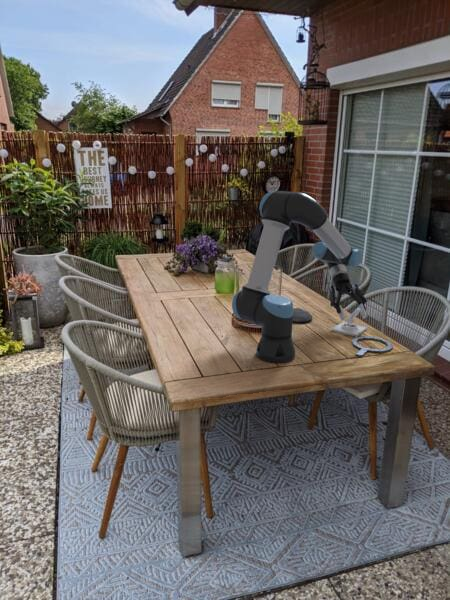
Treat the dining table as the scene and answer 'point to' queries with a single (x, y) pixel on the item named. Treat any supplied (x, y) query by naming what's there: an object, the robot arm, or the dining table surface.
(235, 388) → the dining table surface
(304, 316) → the flying saucer
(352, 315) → the hook
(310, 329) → the dining table surface
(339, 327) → the tile
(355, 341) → the eye ring
